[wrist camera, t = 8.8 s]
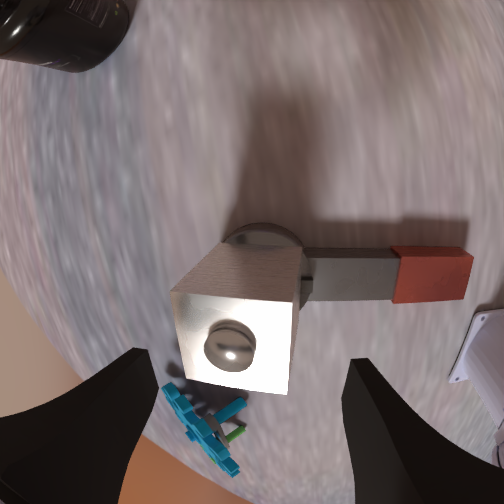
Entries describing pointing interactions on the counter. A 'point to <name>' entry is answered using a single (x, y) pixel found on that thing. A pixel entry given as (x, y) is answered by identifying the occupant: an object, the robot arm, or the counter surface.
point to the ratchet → (369, 269)
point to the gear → (208, 428)
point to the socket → (240, 316)
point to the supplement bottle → (61, 32)
